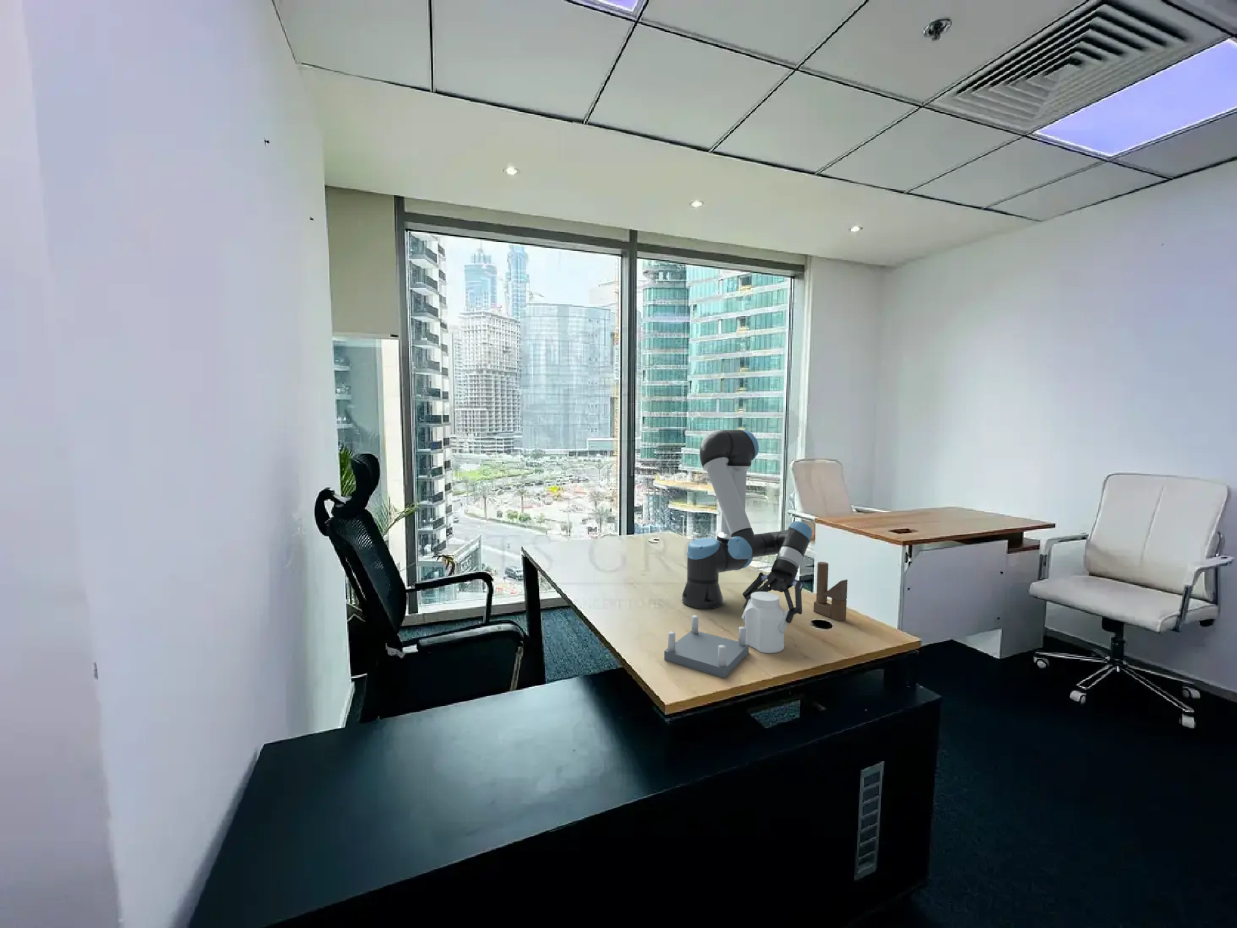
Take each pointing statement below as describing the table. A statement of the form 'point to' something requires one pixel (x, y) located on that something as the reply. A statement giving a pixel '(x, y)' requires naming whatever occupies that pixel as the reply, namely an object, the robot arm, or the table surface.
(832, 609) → the wooden block
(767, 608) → the jar
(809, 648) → the table surface
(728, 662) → the peg board
